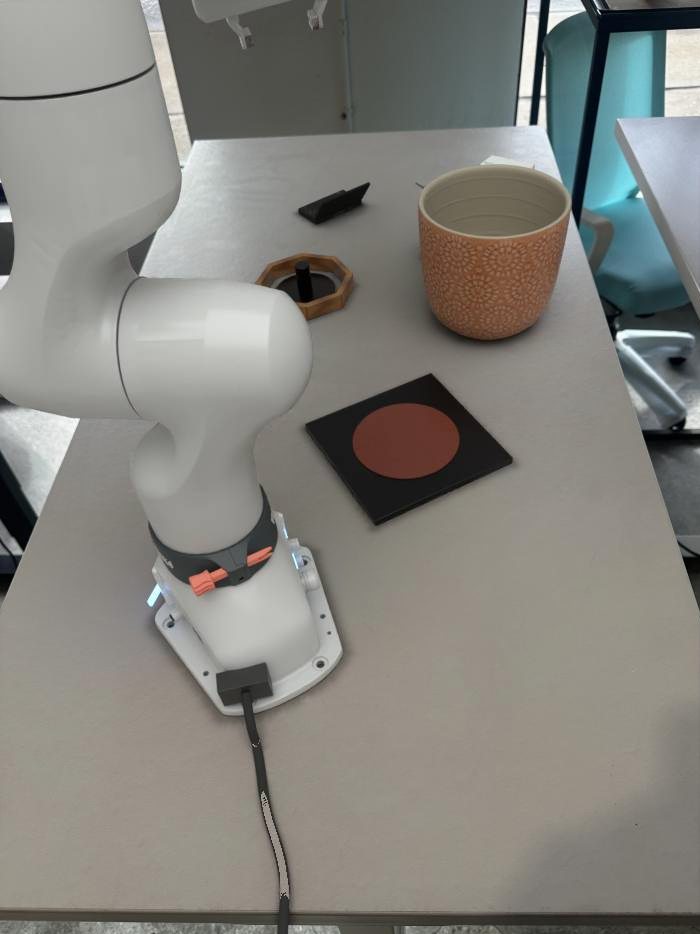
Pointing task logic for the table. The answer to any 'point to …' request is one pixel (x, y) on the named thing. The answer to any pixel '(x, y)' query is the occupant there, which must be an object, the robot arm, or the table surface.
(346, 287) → the hoop
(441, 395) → the hob plate
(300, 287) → the peg stand
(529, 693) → the table surface
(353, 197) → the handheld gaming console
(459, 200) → the planter
